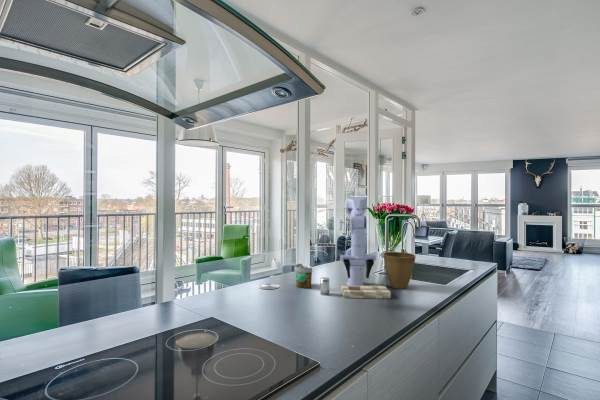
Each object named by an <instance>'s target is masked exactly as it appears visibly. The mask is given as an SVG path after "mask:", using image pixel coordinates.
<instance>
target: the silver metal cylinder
mask: <svg viewBox="0 0 600 400" xmlns="http://www.w3.org/2000/svg"><path fill="white" fill-rule="evenodd" d="M319 293H320V295H321V296H329V295H330V278H329V277H325V276H324V277H320V290H319Z"/></svg>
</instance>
